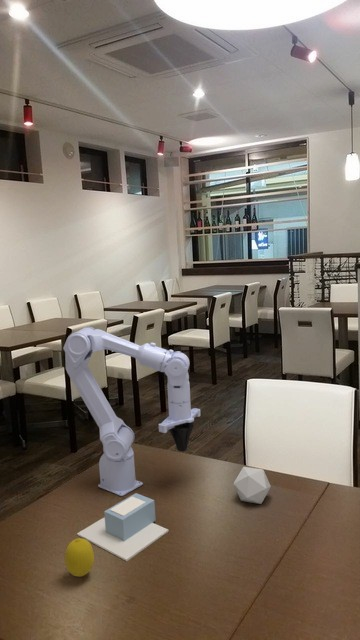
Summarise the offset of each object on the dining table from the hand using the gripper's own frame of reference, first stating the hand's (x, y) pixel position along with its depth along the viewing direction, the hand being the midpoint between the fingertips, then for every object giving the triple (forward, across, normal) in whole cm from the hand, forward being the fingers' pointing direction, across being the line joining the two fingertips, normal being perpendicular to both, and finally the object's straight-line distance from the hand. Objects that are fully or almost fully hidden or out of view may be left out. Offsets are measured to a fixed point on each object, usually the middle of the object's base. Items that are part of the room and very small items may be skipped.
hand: (181, 450), depth 128 cm
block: (+8, -16, -2) cm, 18 cm away
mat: (+10, -24, -2) cm, 26 cm away
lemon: (+11, -39, -6) cm, 41 cm away
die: (+11, +5, -18) cm, 21 cm away
